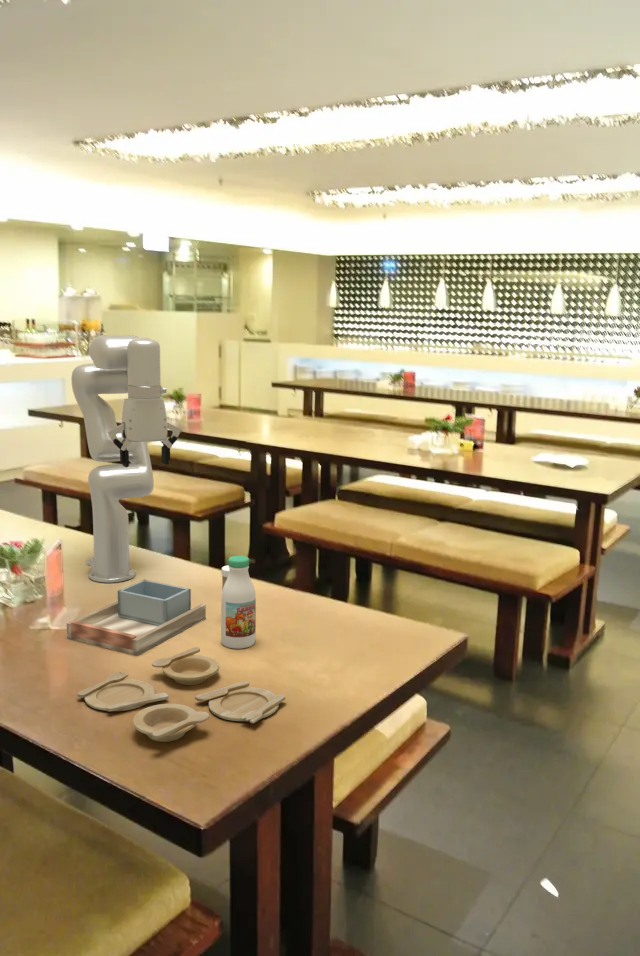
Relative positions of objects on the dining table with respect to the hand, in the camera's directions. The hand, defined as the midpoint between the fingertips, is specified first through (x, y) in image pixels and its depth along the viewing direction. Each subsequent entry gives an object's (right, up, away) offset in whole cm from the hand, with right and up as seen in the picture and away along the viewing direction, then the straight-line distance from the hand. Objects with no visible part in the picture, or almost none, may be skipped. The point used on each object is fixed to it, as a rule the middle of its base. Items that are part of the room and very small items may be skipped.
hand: (145, 465), depth 197 cm
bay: (-1, -38, -2) cm, 38 cm away
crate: (+2, -36, +3) cm, 36 cm away
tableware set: (+15, -47, -38) cm, 62 cm away
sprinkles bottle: (+20, -38, +4) cm, 43 cm away
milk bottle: (+23, -41, -9) cm, 48 cm away
